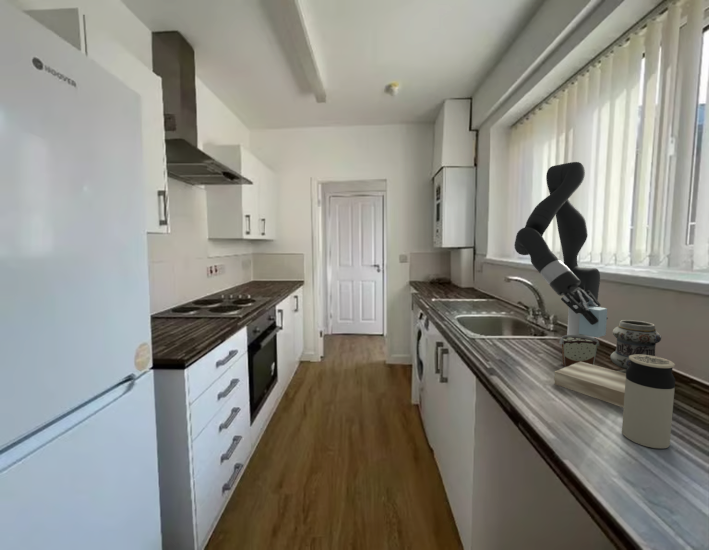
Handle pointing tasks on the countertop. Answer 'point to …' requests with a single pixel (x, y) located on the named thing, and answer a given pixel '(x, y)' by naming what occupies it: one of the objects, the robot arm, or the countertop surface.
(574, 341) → the food container
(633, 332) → the apothecary jar
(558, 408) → the countertop surface
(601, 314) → the blue-grey block
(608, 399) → the birch base
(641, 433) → the travel mug
